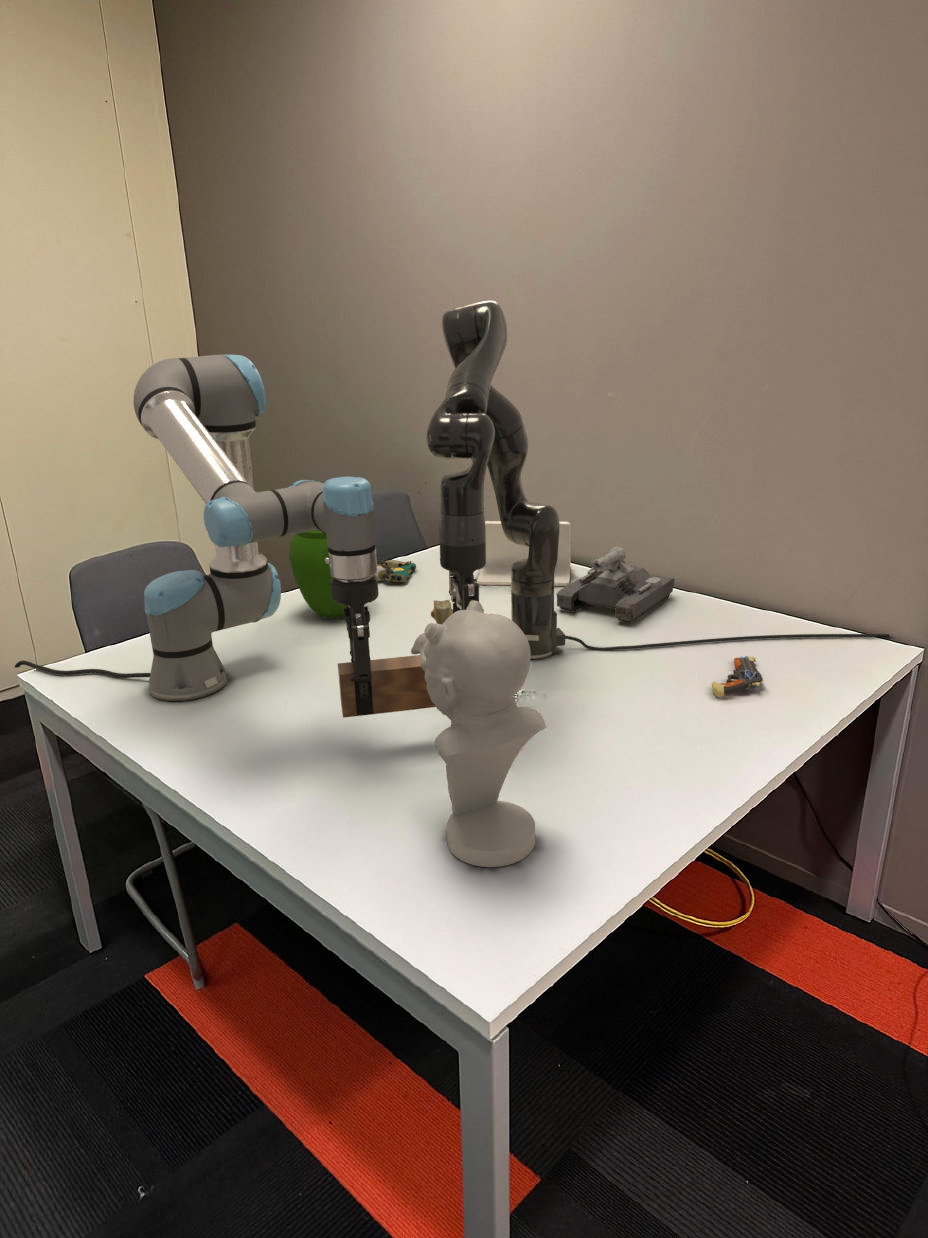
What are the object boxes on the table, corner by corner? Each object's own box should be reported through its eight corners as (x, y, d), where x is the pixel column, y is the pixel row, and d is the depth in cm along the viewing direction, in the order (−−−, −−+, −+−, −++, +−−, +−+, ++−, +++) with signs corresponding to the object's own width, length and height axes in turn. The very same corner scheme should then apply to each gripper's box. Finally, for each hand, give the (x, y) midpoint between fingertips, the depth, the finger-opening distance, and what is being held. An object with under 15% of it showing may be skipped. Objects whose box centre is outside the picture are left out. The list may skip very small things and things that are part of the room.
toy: (603, 584, 229) (605, 530, 224) (673, 597, 218) (677, 540, 213) (555, 612, 210) (556, 553, 205) (630, 627, 199) (633, 566, 194)
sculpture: (458, 662, 183) (456, 596, 178) (460, 676, 176) (457, 608, 171) (431, 663, 183) (428, 597, 177) (431, 677, 176) (428, 609, 171)
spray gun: (385, 567, 252) (430, 574, 246) (355, 580, 238) (402, 588, 232) (385, 553, 251) (430, 559, 245) (355, 565, 236) (402, 573, 230)
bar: (485, 689, 151) (484, 648, 148) (491, 700, 146) (490, 658, 144) (341, 705, 146) (337, 663, 144) (343, 717, 142) (339, 674, 139)
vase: (389, 608, 216) (383, 514, 208) (339, 633, 201) (330, 533, 192) (330, 596, 226) (322, 506, 218) (278, 619, 211) (267, 523, 202)
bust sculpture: (481, 772, 140) (476, 569, 128) (565, 848, 120) (569, 617, 108) (392, 800, 134) (378, 588, 121) (465, 886, 114) (457, 642, 101)
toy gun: (713, 687, 162) (768, 684, 160) (705, 654, 180) (754, 651, 178) (714, 700, 163) (769, 697, 161) (706, 666, 181) (755, 664, 179)
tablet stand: (569, 585, 229) (570, 524, 223) (476, 584, 232) (475, 523, 226) (570, 566, 246) (571, 508, 240) (484, 564, 249) (483, 507, 243)
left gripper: (327, 561, 144) (338, 687, 152) (333, 595, 128) (345, 733, 136) (371, 558, 145) (380, 682, 154) (383, 591, 129) (392, 728, 137)
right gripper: (494, 548, 133) (495, 645, 138) (476, 526, 146) (477, 616, 151) (447, 551, 131) (449, 649, 137) (433, 529, 145) (435, 619, 150)
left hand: (363, 706), depth 145 cm, fingers closed on bar, 5 cm apart
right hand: (464, 631), depth 144 cm, fingers open, 8 cm apart
